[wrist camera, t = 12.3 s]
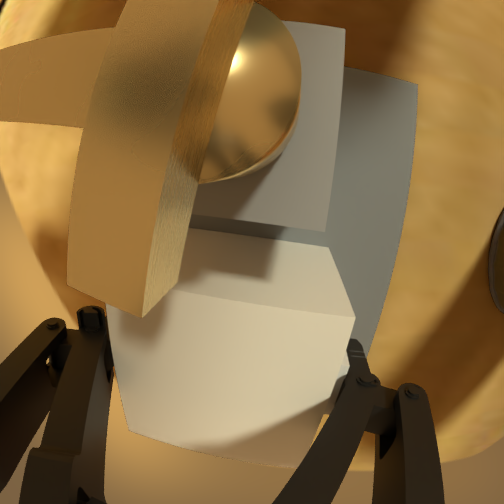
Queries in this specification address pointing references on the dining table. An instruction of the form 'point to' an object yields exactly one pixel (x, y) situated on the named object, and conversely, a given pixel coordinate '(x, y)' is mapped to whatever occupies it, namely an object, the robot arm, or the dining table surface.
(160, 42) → the latch bar
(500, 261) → the canister
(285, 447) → the cover
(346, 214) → the latch base
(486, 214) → the dining table surface
